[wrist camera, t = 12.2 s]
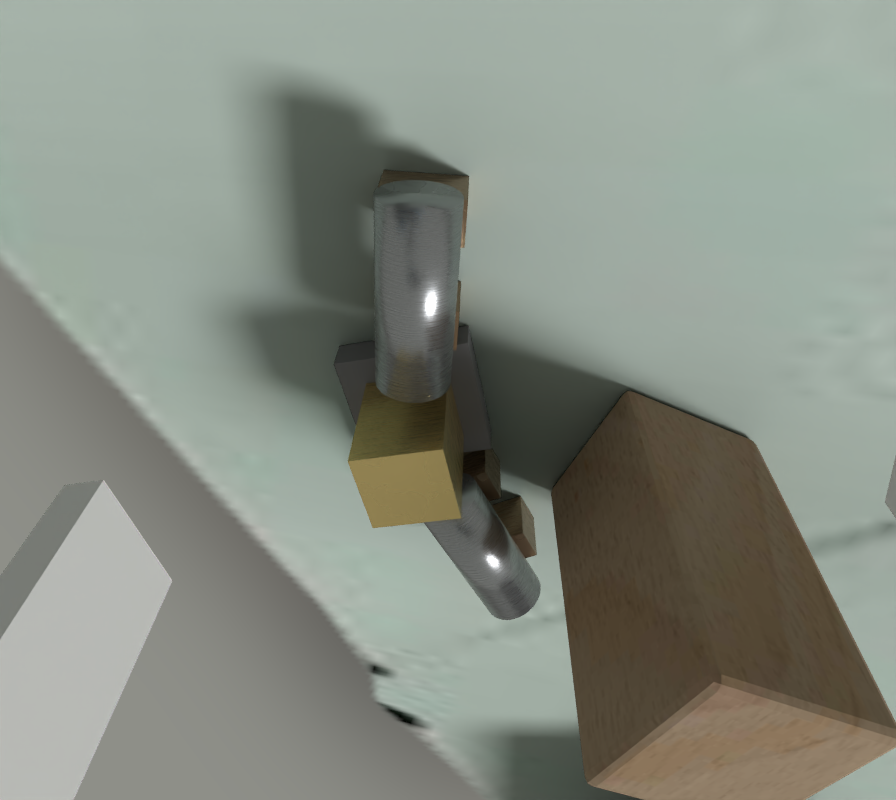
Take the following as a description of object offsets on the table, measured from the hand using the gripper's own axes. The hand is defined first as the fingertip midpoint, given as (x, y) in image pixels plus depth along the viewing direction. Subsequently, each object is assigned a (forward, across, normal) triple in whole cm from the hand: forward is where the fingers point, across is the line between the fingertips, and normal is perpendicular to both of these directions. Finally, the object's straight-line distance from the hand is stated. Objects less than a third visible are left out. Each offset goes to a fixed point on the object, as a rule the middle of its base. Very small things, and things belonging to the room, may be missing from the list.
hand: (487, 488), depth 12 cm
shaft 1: (+27, -4, -7) cm, 28 cm away
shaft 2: (+27, -4, -25) cm, 37 cm away
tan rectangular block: (+25, -7, -16) cm, 30 cm away
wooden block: (+27, +7, -25) cm, 37 cm away
